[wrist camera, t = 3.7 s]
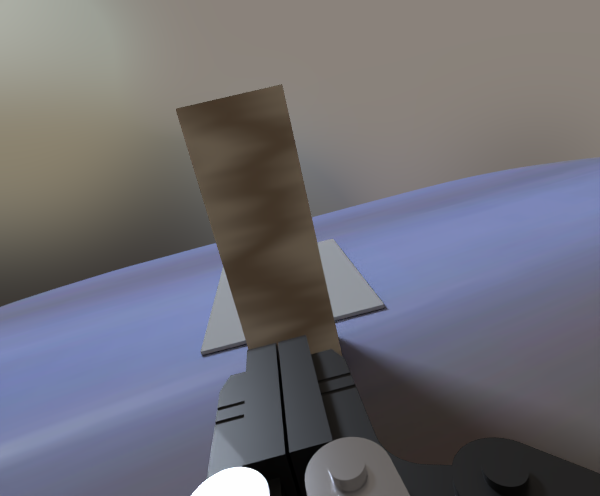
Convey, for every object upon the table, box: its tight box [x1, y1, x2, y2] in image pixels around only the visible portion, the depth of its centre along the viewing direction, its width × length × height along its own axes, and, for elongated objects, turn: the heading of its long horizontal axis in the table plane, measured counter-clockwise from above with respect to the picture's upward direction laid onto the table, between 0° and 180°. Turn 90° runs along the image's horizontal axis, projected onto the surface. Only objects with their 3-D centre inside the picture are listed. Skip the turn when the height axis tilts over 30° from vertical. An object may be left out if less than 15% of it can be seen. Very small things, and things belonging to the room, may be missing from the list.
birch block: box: [176, 84, 342, 356], centre depth 22 cm, size 5×5×16 cm
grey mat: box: [201, 239, 385, 355], centre depth 38 cm, size 14×20×1 cm
